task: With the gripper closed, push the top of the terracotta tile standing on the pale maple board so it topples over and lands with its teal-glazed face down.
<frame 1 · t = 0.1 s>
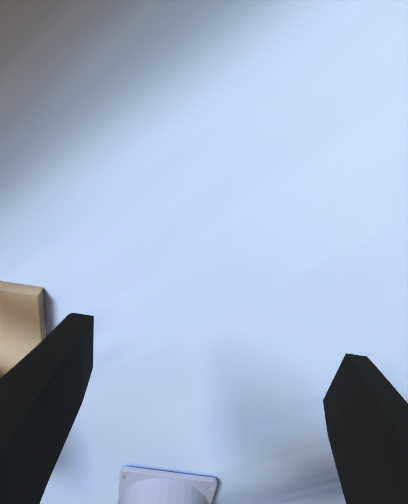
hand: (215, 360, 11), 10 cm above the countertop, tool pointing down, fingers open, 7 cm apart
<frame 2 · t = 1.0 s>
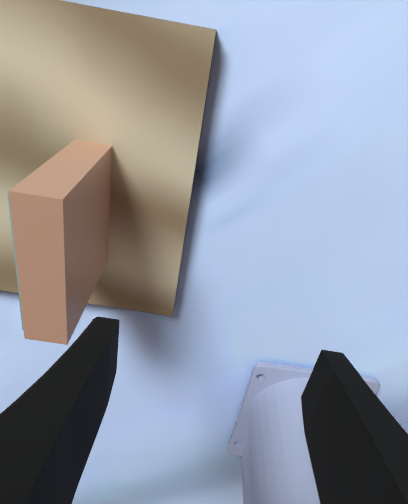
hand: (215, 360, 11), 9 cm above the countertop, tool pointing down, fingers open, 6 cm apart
tile: (92, 205, 18), point 1 cm above the countertop, touching board
board: (55, 172, 18), on the countertop
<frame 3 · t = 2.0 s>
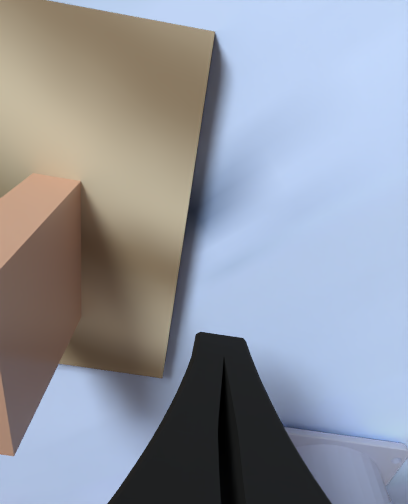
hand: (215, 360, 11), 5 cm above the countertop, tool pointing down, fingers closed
tile: (59, 252, 14), point 1 cm above the countertop, touching board
board: (13, 211, 14), on the countertop
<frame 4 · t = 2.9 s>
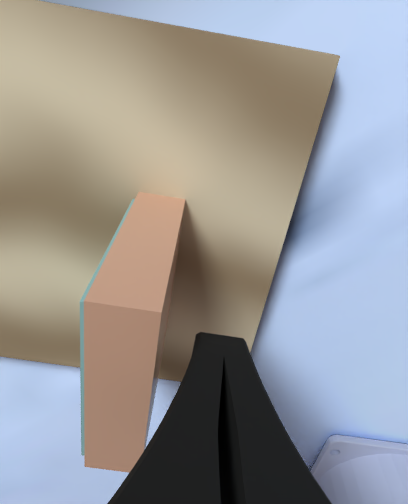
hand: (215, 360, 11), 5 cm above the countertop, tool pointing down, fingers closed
tile: (154, 268, 15), point 1 cm above the countertop, touching board
board: (107, 227, 15), on the countertop
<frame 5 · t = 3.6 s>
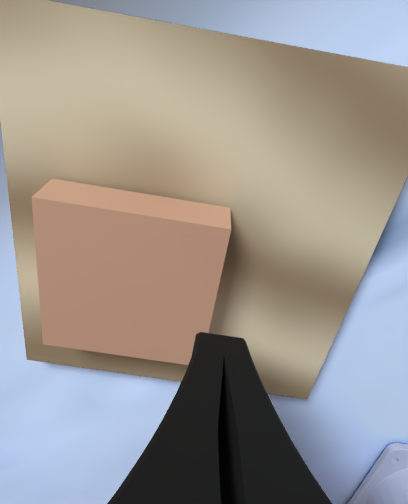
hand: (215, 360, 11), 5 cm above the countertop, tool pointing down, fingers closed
tile: (214, 292, 14), point 2 cm above the countertop, tilted 90°, touching board
board: (192, 240, 15), on the countertop
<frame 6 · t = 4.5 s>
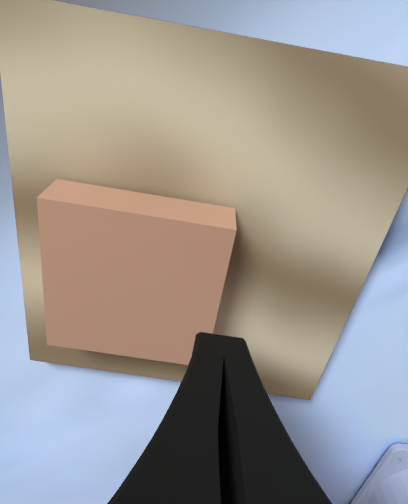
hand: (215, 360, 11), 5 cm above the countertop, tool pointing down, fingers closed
tile: (219, 292, 14), point 2 cm above the countertop, tilted 90°, touching board
board: (196, 240, 15), on the countertop
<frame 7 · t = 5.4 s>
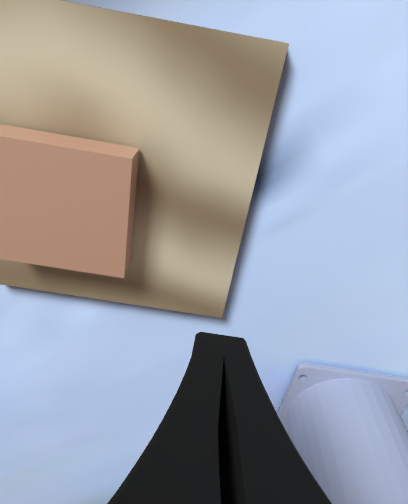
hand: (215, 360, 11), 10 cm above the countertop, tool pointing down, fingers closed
tile: (131, 216, 18), point 2 cm above the countertop, tilted 90°, touching board
board: (117, 179, 19), on the countertop
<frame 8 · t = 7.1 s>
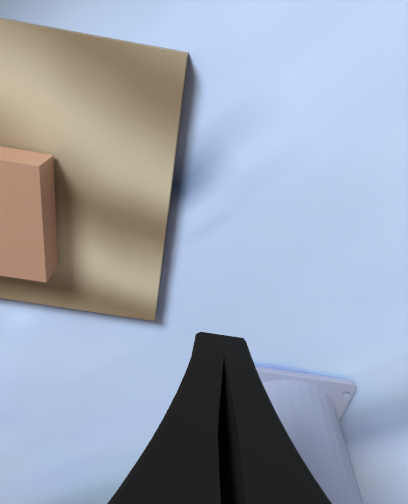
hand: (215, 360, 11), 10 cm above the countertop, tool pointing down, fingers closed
tile: (49, 221, 18), point 2 cm above the countertop, tilted 90°, touching board
board: (40, 185, 19), on the countertop
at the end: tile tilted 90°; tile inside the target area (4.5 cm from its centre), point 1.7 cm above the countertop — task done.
